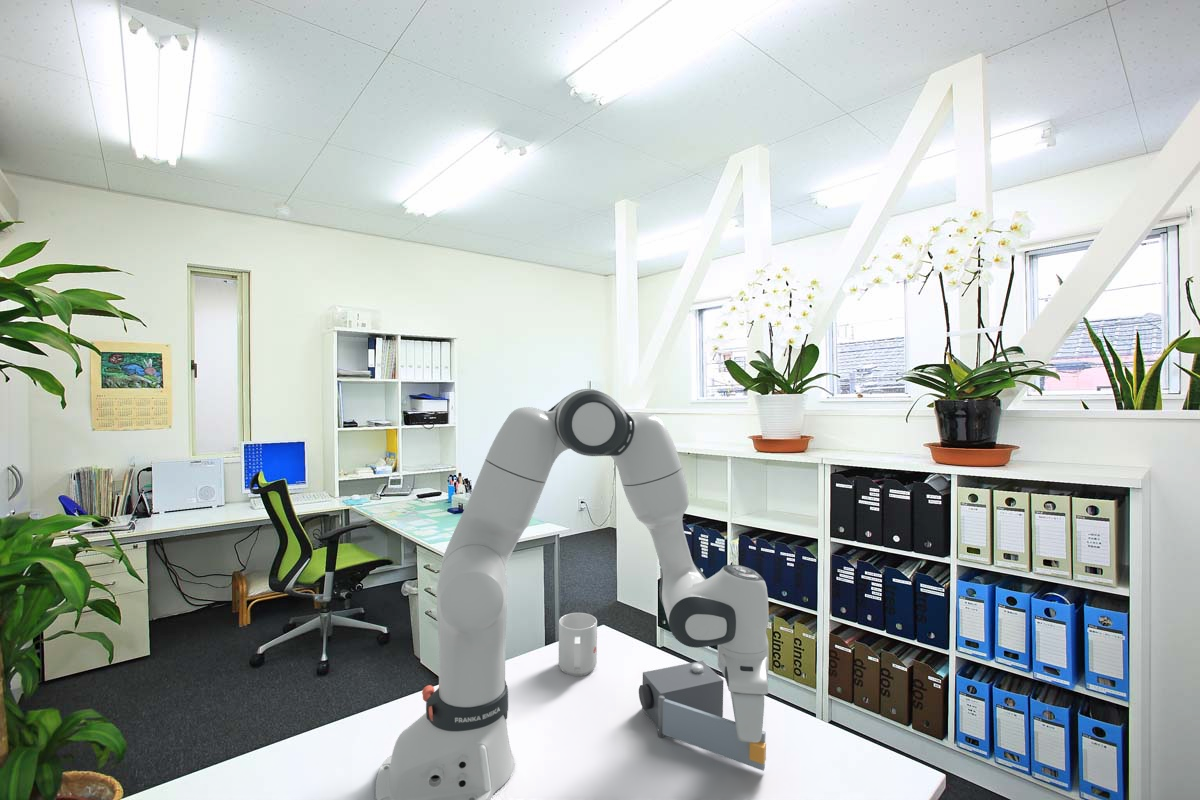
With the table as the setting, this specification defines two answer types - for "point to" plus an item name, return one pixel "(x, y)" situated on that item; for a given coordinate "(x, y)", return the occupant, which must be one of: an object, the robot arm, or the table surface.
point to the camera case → (682, 689)
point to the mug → (577, 643)
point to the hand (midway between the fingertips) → (742, 733)
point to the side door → (708, 733)
